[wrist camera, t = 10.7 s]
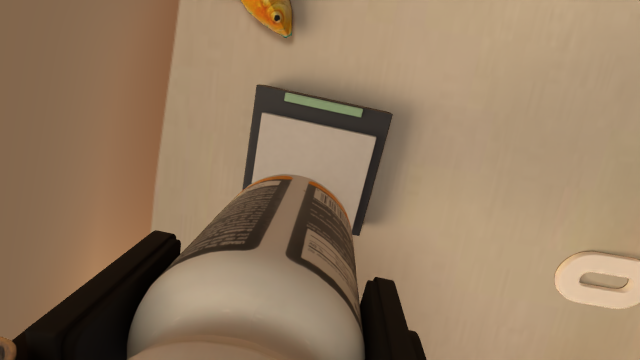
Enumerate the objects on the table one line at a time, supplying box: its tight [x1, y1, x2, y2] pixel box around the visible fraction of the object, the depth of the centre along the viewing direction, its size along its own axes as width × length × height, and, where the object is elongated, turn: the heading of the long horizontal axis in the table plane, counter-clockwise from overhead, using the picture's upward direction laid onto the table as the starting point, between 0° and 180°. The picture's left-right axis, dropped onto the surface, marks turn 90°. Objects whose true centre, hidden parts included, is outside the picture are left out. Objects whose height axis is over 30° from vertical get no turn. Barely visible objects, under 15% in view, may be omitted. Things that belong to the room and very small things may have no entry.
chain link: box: [554, 251, 640, 309], centre depth 26 cm, size 8×1×5 cm
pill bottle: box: [127, 174, 365, 360], centre depth 9 cm, size 6×6×10 cm
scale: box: [242, 85, 393, 236], centre depth 23 cm, size 10×10×3 cm
